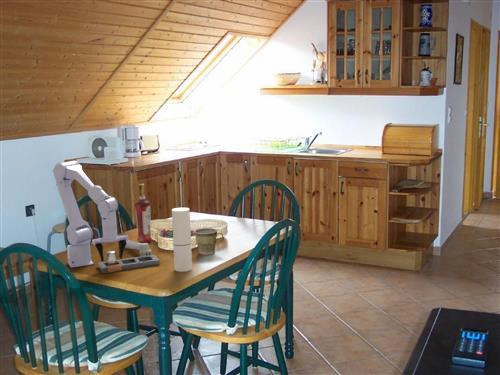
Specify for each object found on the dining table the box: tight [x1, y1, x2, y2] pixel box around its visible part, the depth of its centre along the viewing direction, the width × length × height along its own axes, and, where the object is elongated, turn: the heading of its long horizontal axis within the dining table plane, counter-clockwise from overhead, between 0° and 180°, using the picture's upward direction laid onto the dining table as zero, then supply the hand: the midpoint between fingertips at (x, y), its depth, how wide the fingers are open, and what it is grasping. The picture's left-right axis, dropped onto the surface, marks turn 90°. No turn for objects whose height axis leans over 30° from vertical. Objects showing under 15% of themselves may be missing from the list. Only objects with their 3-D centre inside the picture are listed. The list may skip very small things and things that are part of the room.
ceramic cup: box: [194, 227, 224, 255], centre depth 276 cm, size 13×10×10 cm
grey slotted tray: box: [97, 254, 161, 274], centre depth 260 cm, size 24×9×2 cm, turn 114°
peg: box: [106, 250, 118, 266], centre depth 257 cm, size 4×4×7 cm
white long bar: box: [124, 238, 152, 257], centre depth 281 cm, size 5×7×25 cm
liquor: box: [134, 183, 153, 244], centre depth 296 cm, size 7×7×28 cm
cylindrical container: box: [171, 207, 193, 273], centre depth 252 cm, size 7×7×25 cm
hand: (111, 259), depth 257 cm, fingers open, 7 cm apart
